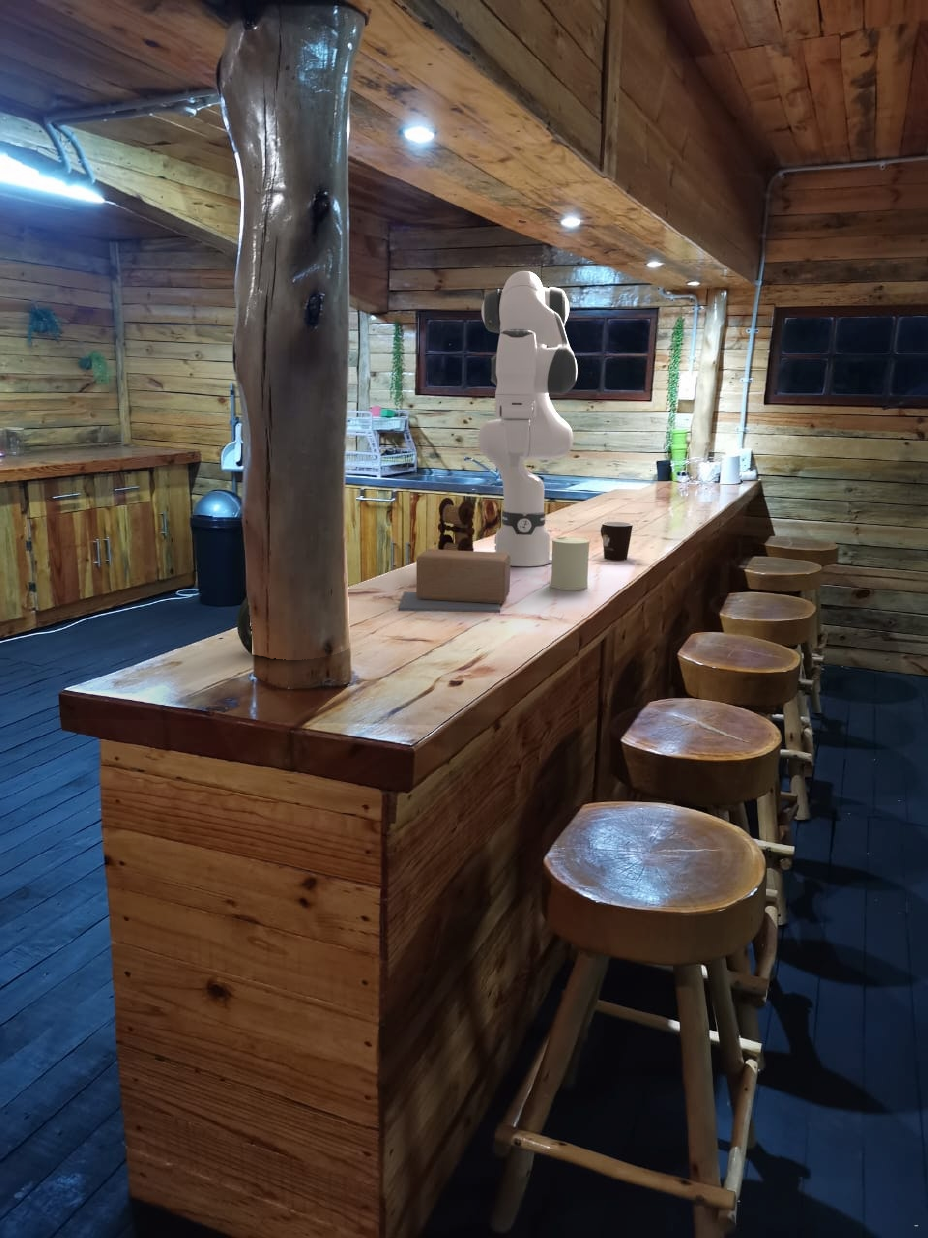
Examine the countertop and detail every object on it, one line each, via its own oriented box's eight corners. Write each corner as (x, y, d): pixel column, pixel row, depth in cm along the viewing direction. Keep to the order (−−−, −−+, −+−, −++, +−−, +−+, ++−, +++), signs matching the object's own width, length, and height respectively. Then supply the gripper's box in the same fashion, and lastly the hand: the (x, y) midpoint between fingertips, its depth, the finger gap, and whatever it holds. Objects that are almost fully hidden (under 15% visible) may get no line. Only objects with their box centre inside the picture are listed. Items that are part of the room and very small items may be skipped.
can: (566, 580, 225) (568, 533, 222) (595, 586, 219) (597, 538, 216) (542, 586, 219) (543, 537, 216) (571, 592, 213) (573, 542, 210)
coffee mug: (633, 561, 251) (635, 526, 248) (602, 561, 251) (604, 525, 248) (626, 554, 262) (628, 520, 260) (597, 553, 262) (598, 519, 260)
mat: (404, 593, 209) (404, 591, 209) (498, 595, 208) (498, 592, 208) (398, 610, 193) (398, 607, 193) (500, 612, 193) (500, 609, 193)
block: (504, 560, 194) (415, 556, 198) (503, 605, 197) (415, 599, 200) (511, 552, 204) (425, 548, 207) (510, 595, 206) (425, 590, 210)
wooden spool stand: (496, 577, 228) (498, 499, 222) (457, 586, 217) (458, 504, 212) (453, 569, 237) (454, 494, 232) (414, 577, 226) (414, 498, 221)
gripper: (499, 407, 200) (498, 469, 203) (501, 409, 180) (500, 478, 184) (527, 407, 200) (525, 470, 203) (533, 410, 180) (531, 479, 184)
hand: (513, 474), depth 193 cm, fingers closed
